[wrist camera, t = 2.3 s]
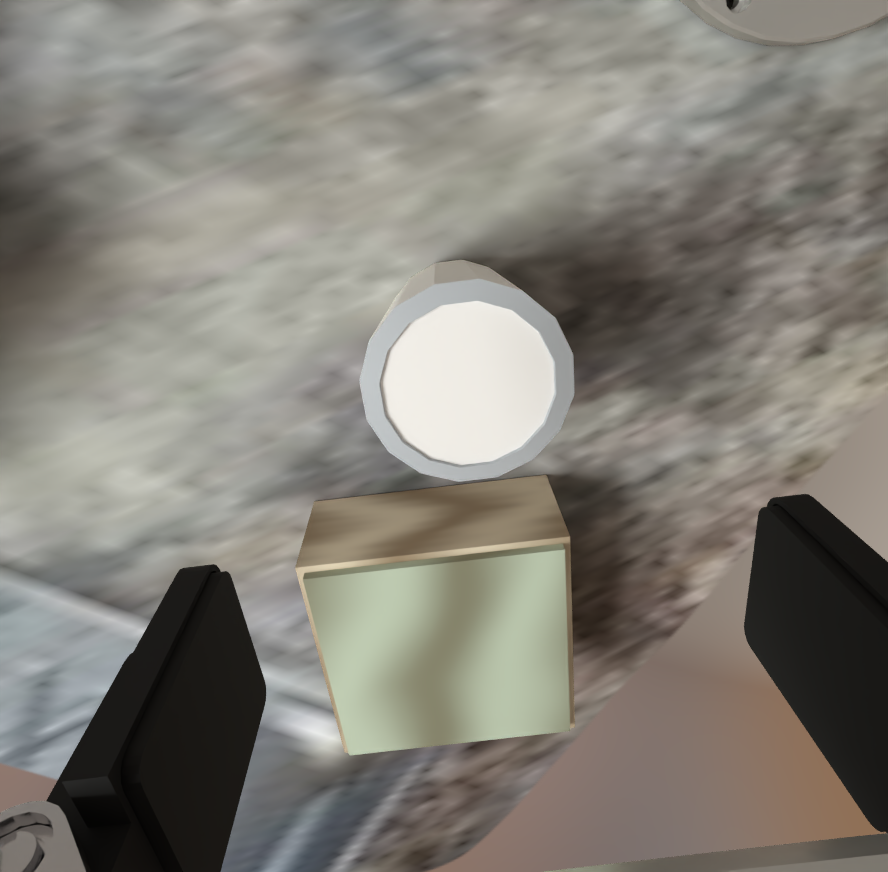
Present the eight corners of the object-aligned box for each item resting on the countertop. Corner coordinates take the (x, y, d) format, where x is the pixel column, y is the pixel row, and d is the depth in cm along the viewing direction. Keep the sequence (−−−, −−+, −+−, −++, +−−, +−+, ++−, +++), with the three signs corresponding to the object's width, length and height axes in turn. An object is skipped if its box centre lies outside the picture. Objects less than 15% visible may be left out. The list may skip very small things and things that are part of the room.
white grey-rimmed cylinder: (348, 275, 25) (324, 322, 18) (513, 218, 24) (548, 246, 18) (406, 423, 27) (402, 507, 21) (554, 376, 27) (596, 449, 20)
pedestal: (546, 474, 29) (572, 542, 24) (553, 648, 34) (576, 734, 29) (314, 501, 29) (293, 574, 24) (354, 671, 34) (344, 760, 29)
